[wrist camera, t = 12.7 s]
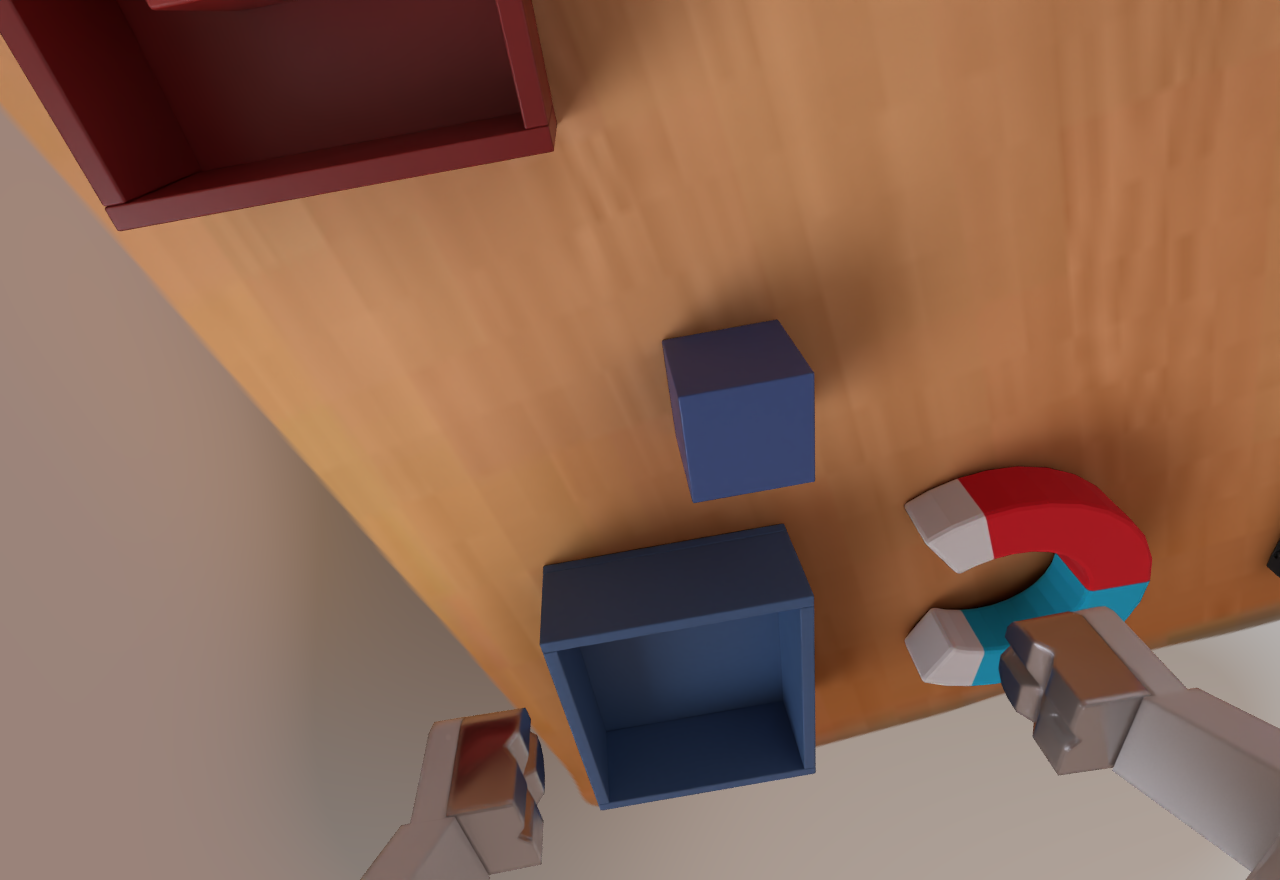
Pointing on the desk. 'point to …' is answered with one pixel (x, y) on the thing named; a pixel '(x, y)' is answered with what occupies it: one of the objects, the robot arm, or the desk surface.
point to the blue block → (741, 410)
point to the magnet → (1017, 523)
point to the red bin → (279, 96)
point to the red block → (210, 4)
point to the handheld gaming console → (1275, 560)
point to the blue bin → (685, 664)
